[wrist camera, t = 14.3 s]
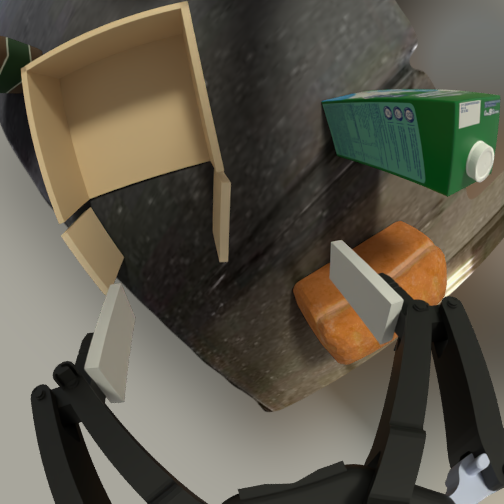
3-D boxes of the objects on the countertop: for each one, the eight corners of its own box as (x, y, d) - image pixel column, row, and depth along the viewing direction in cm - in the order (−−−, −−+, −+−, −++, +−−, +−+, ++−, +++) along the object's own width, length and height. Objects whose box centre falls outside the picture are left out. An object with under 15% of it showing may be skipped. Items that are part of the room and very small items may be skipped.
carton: (54, 76, 26) (20, 68, 17) (187, 28, 28) (187, 1, 19) (85, 200, 35) (59, 224, 26) (215, 159, 37) (224, 170, 28)
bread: (410, 265, 55) (457, 304, 41) (310, 328, 56) (342, 386, 42) (401, 212, 48) (460, 247, 34) (285, 282, 49) (321, 344, 35)
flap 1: (90, 207, 35) (66, 231, 27) (124, 257, 40) (110, 292, 32) (84, 211, 35) (59, 236, 27) (118, 261, 40) (103, 296, 32)
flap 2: (212, 231, 41) (219, 262, 33) (213, 168, 37) (221, 182, 29) (220, 231, 42) (230, 261, 33) (222, 168, 38) (233, 182, 29)
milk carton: (336, 156, 41) (465, 206, 19) (320, 101, 36) (456, 101, 14) (380, 141, 41) (507, 180, 19) (367, 90, 36) (501, 95, 15)
